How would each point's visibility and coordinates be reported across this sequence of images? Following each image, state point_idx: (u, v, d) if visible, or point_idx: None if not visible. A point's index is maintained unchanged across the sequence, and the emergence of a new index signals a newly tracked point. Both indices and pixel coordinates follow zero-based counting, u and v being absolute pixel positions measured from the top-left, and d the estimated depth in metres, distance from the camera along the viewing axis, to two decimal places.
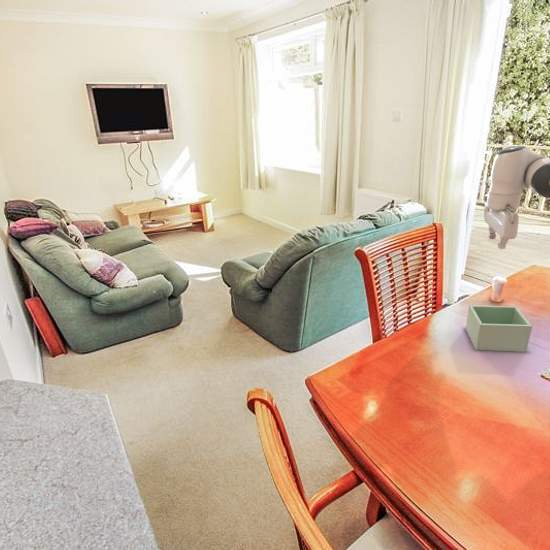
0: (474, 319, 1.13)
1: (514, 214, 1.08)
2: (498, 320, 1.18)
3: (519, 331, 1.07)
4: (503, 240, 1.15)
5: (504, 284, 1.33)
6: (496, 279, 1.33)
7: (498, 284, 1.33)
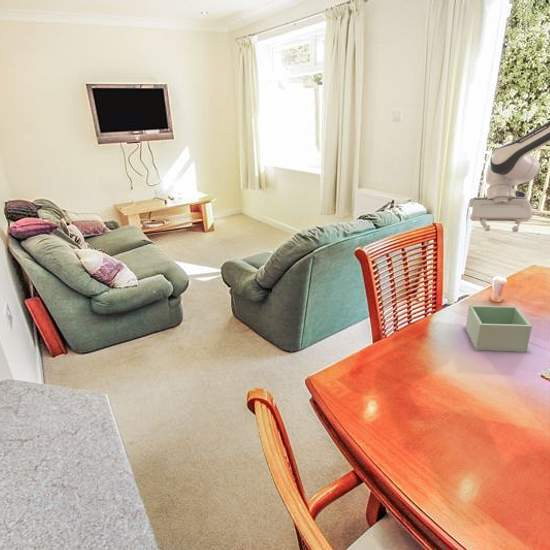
0: (474, 319, 1.13)
1: None
2: (498, 320, 1.18)
3: (519, 331, 1.07)
4: (481, 223, 1.40)
5: (504, 284, 1.33)
6: (496, 279, 1.33)
7: (498, 284, 1.33)
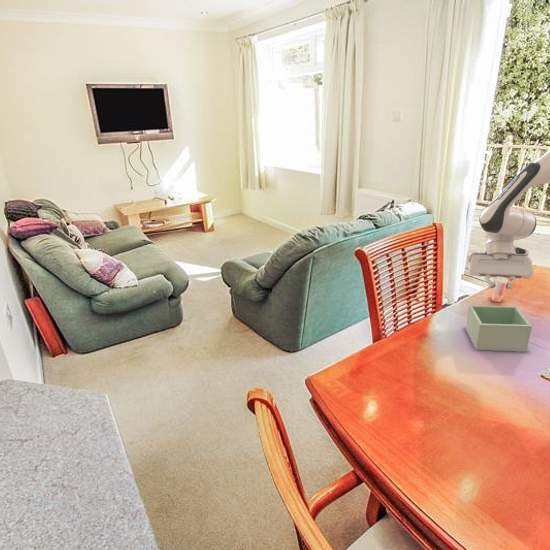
0: (474, 319, 1.13)
1: (469, 255, 1.42)
2: (498, 320, 1.18)
3: (519, 331, 1.07)
4: (485, 279, 1.37)
5: (505, 284, 1.32)
6: (497, 279, 1.33)
7: (499, 284, 1.33)
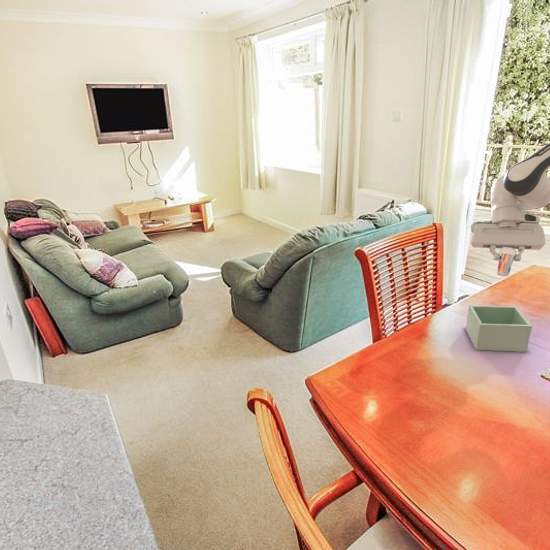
0: (474, 319, 1.13)
1: (471, 224, 1.25)
2: (498, 320, 1.18)
3: (519, 331, 1.07)
4: (490, 250, 1.21)
5: (513, 255, 1.16)
6: (504, 249, 1.17)
7: (506, 255, 1.16)
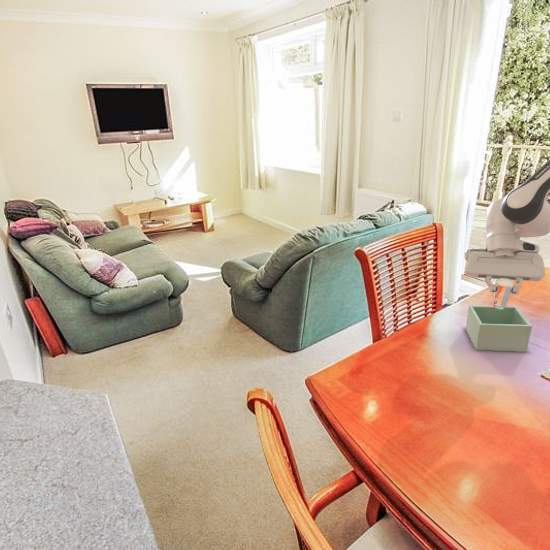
0: (474, 319, 1.13)
1: None
2: (498, 320, 1.18)
3: (519, 331, 1.07)
4: (486, 281, 1.11)
5: (510, 288, 1.07)
6: (500, 281, 1.07)
7: (503, 287, 1.07)
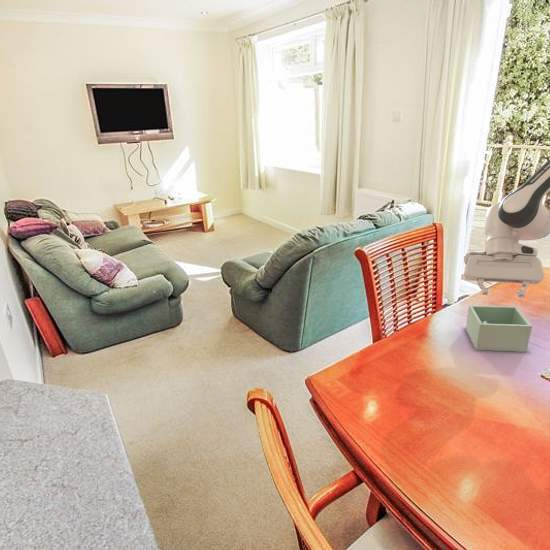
0: (474, 319, 1.13)
1: None
2: (498, 320, 1.18)
3: (519, 331, 1.07)
4: (478, 284, 1.13)
5: None
6: None
7: None
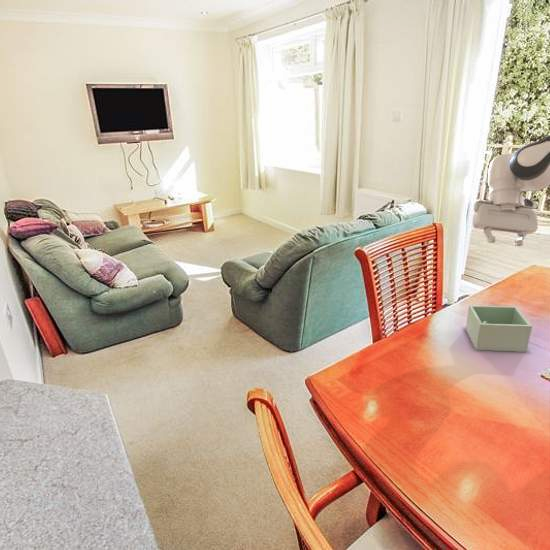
0: (474, 319, 1.13)
1: (474, 203, 1.20)
2: (498, 320, 1.18)
3: (519, 331, 1.07)
4: (485, 232, 1.19)
5: None
6: None
7: None
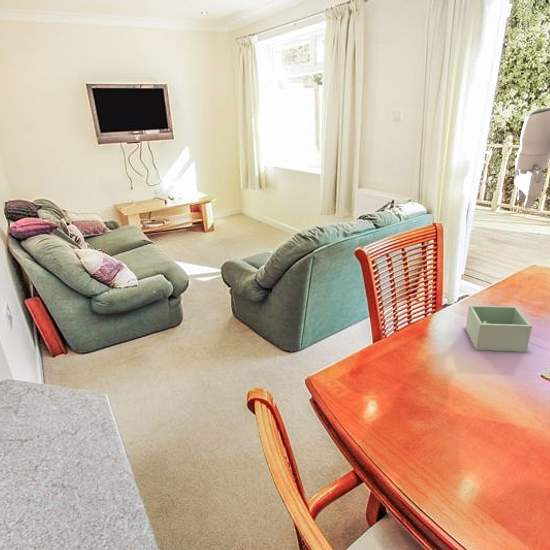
0: (474, 319, 1.13)
1: (539, 172, 1.14)
2: (498, 320, 1.18)
3: (519, 331, 1.07)
4: (529, 199, 1.21)
5: None
6: None
7: None
